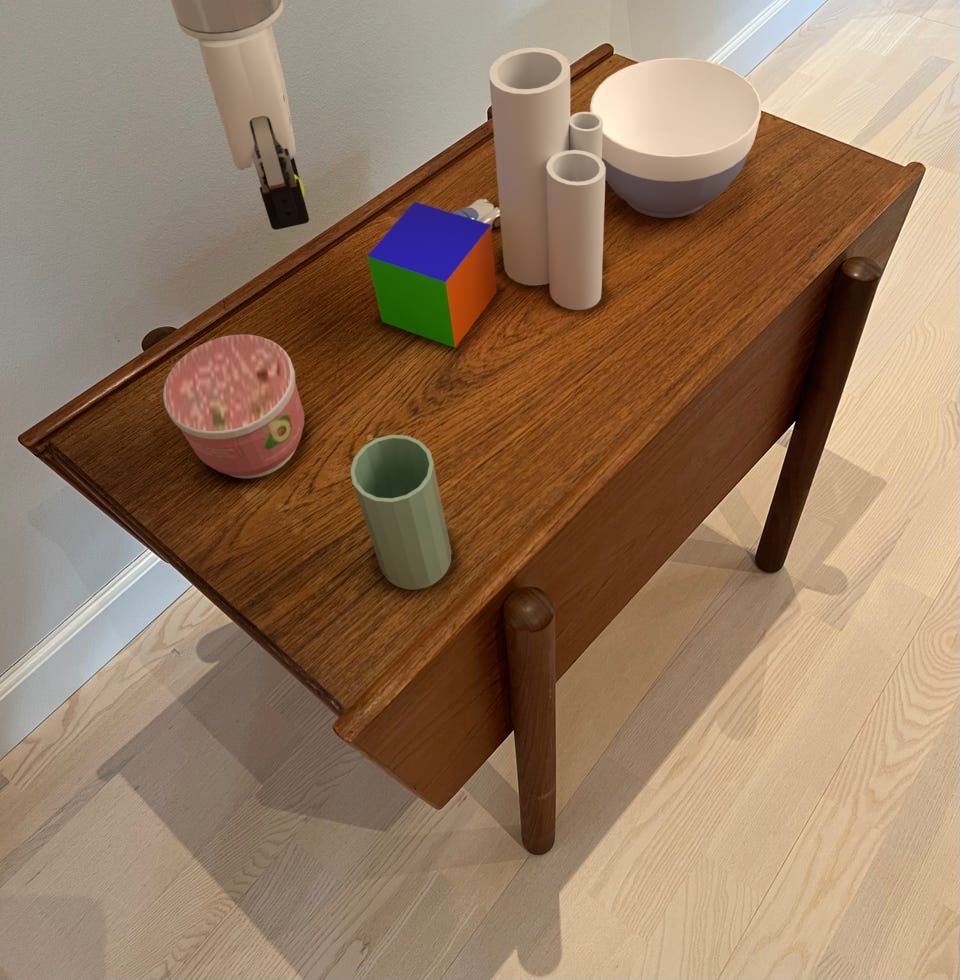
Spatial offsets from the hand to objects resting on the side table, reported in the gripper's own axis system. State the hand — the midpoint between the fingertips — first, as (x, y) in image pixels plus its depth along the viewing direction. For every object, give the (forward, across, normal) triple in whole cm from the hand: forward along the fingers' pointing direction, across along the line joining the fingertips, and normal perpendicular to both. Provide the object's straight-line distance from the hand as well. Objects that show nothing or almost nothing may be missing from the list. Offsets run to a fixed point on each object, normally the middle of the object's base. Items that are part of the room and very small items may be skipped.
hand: (287, 207), depth 80 cm
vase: (+12, +2, +23) cm, 26 cm away
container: (+13, +14, -8) cm, 20 cm away
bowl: (+12, -6, +37) cm, 40 cm away
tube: (+12, +30, +3) cm, 32 cm away
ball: (-2, 0, 0) cm, 2 cm away
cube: (+12, +3, +11) cm, 17 cm away
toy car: (+12, -7, +17) cm, 22 cm away
